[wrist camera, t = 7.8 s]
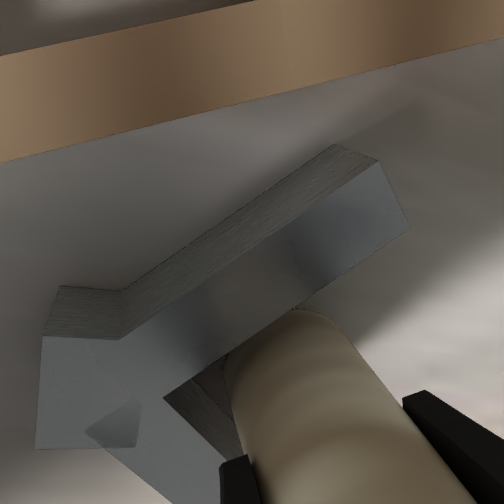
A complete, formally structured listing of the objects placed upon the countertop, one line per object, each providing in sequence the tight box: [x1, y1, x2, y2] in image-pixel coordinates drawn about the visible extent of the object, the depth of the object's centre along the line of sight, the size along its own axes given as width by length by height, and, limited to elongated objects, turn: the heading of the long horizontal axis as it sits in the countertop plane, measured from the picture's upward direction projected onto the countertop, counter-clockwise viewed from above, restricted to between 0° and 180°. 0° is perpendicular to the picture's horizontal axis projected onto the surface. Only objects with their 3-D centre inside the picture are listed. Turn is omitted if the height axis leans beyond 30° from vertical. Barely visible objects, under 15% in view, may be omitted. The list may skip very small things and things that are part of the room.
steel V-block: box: [34, 144, 410, 504], centre depth 13 cm, size 8×13×2 cm, turn 167°
